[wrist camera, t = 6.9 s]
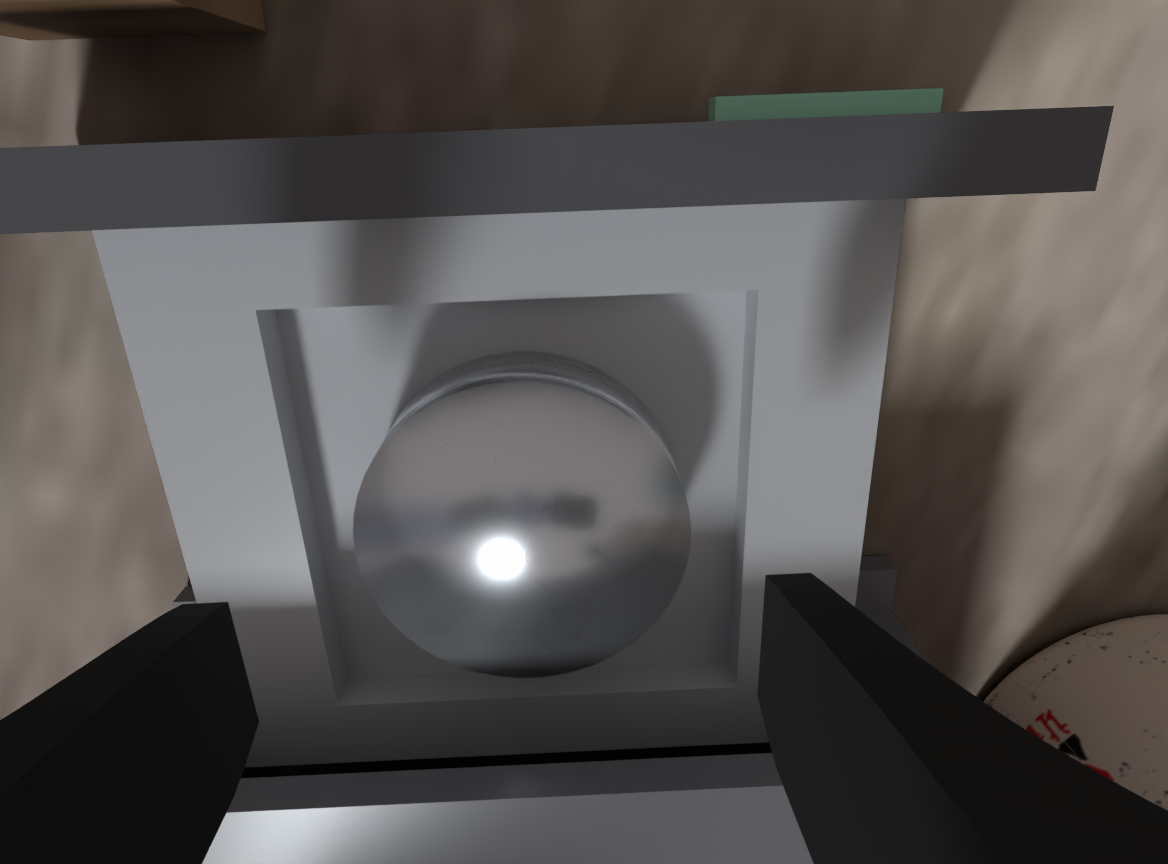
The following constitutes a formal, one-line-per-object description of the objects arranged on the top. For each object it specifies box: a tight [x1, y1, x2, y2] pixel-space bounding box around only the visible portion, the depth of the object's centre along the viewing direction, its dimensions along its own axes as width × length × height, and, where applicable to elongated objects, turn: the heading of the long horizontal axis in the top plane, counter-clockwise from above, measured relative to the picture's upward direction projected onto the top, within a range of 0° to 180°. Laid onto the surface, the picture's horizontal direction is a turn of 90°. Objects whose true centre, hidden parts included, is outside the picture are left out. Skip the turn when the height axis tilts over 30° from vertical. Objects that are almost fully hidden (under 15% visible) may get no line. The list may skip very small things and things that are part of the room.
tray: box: [0, 88, 1114, 767], centre depth 13 cm, size 16×12×4 cm
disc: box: [353, 351, 691, 678], centre depth 13 cm, size 6×6×2 cm
